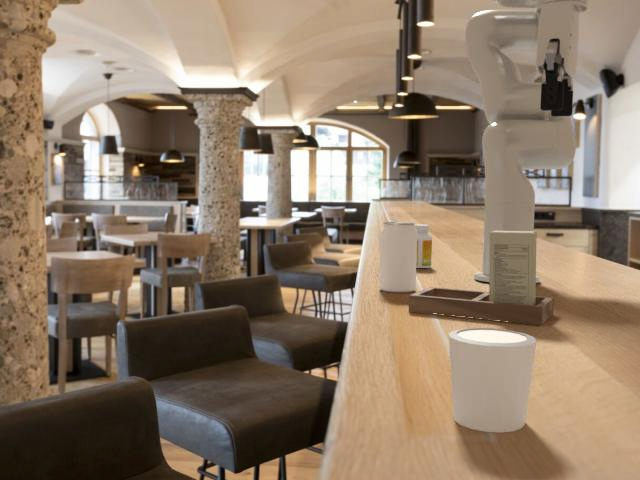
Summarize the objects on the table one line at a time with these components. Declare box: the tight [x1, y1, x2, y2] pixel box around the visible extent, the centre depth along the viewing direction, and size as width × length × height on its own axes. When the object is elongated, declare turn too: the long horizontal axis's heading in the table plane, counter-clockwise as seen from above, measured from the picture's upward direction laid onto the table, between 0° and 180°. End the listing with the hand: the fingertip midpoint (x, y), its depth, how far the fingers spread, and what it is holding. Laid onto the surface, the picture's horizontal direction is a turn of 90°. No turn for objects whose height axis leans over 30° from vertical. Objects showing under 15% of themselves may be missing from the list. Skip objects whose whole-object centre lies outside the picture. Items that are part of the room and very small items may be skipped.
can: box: [378, 221, 417, 294], centre depth 125 cm, size 6×6×12 cm
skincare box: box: [488, 230, 537, 306], centre depth 102 cm, size 6×4×12 cm
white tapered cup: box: [448, 327, 537, 434], centre depth 57 cm, size 7×7×7 cm
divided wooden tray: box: [408, 286, 555, 326], centre depth 105 cm, size 10×19×2 cm, turn 63°
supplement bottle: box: [415, 223, 433, 269], centre depth 160 cm, size 5×5×10 cm
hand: (556, 113), depth 110 cm, fingers open, 9 cm apart
